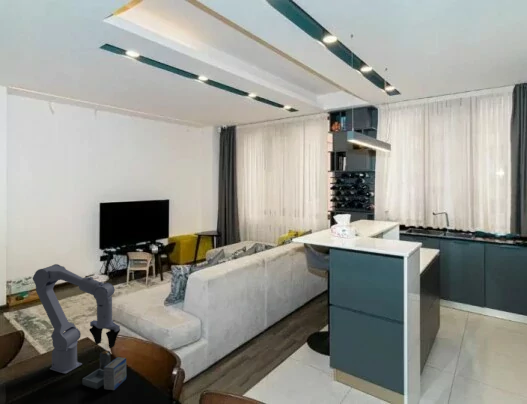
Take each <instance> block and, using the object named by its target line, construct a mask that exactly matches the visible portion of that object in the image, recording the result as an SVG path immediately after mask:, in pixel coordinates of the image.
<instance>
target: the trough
mask: <svg viewBox="0 0 527 404" xmlns="http://www.w3.org/2000/svg"><path fill="white" fill-rule="evenodd" d="M82 386H84V387H87V388H91V389H93V390H98V389H100V388H101V387H104V370H102V369H100V368H97V369H96V370H94V371H92V372H91V373H89V374H88V375H86V376H83V378H82Z"/></svg>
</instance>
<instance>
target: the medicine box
mask: <svg viewBox="0 0 527 404" xmlns="http://www.w3.org/2000/svg"><path fill="white" fill-rule="evenodd" d="M126 379H127V358H126V357H118V356H117V357H116V358H114V359H113V360H112V361H110V363H109V364H108V365H107V366H105V367H104V385H103V389H104V390H107V391H109V390H110V391H115V390H116V389H118V387H119V386H121V384H123V382H125V381H126Z"/></svg>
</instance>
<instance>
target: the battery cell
mask: <svg viewBox="0 0 527 404" xmlns="http://www.w3.org/2000/svg"><path fill="white" fill-rule="evenodd" d="M110 362H111V351H110V350H103V351H101V352H100V353H99V369H102V370H104V367H105V366H107V365H108V364H109V363H110Z"/></svg>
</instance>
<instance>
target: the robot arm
mask: <svg viewBox="0 0 527 404" xmlns="http://www.w3.org/2000/svg"><path fill="white" fill-rule="evenodd" d="M60 280H61V281H64V282H67V283H69V284H73V285H75V286H78V287H79V288H78V289H79V291H82V292H84V293H87V294H89V295H91V296H93V297H94V299H95V301H96V303H95V304H96V319H93V320H91V321H90V322H89V325H90V326H89V327H91V328H89V333H91V335H92V337H93V340H94V343H95V345H100V344H101V343H102V337H103V336H102V335H103V330H104V329H105V330H109V331H107V332H105V335H106V336H107V341H108V349H112V348H113V347H115V345H116V340H117V338H118V336H119V334H120V331H121V327H120V326H121V325H118V324H116V323H115V322H114V321H115V320H113V295H114V293H115V289H116V288H115V286H114V285H113V284H112V283H111V282H103V281H99V280H96V279H94V277H93V276H87V277H82V276H80V275H78V274H76V273H74V272H72V271H70V270H68V269H66V267H65V266H64V265H63V266H62V265H60V264H58V263H55V264H53V265H50V266H47V267H43V268H39V269H37V270H36V271H34V274H33V276H32V281H33V283H34V285H35V292H36V294H37V295H38V299H39V301H40V303H41V304H42V308H43V309H44V311H45V313H46V315H47V317H48V319H49V322H50V323H51V325H52V328H53V331H52V333H51V336H50V337H51V339H52V346H53V349H52V351H51V367H49V370H52V371H55V372H56V373H57V372H58V373H62V374H65V375H66V374H67V373H70V372H71V371H73V370H75V369H77V368H78V367H80V366H82V365H83V363H82V362H79V361H78V342H79V340H80V338H81V336H82V335H81V334H82V333H81V331H80V329H79V328H78V327H77V326H76V324H75V322H74V323H73V322H70V321H69V320H68V318H67V316H66V314H65V312H64V310H63V308H62V306H61V304H60V301H59V299H58V298H57V297H58V296H57V295H56V294H55V290H54V287H55V285H56V284H57V283H58V281H60Z"/></svg>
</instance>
